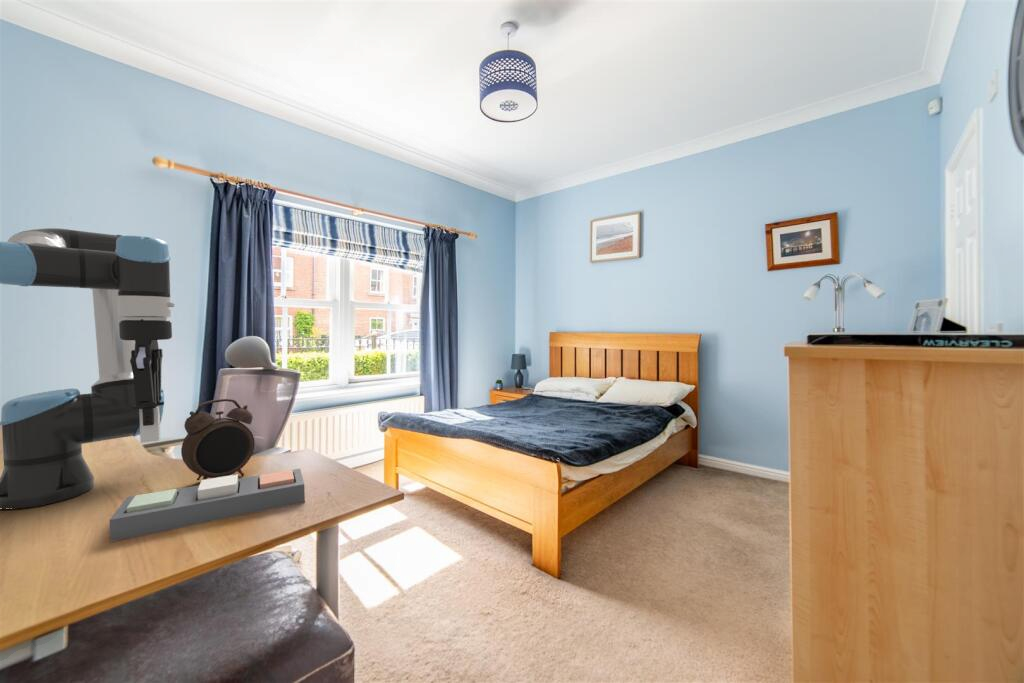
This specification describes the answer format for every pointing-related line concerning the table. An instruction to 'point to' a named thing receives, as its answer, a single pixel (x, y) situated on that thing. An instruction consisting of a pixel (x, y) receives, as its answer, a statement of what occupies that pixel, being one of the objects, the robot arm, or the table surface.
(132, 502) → the key sage
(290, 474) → the key terracotta
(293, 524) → the table surface
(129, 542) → the table surface
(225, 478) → the key offwhite
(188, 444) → the alarm clock
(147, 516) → the keypad
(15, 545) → the table surface
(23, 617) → the table surface
